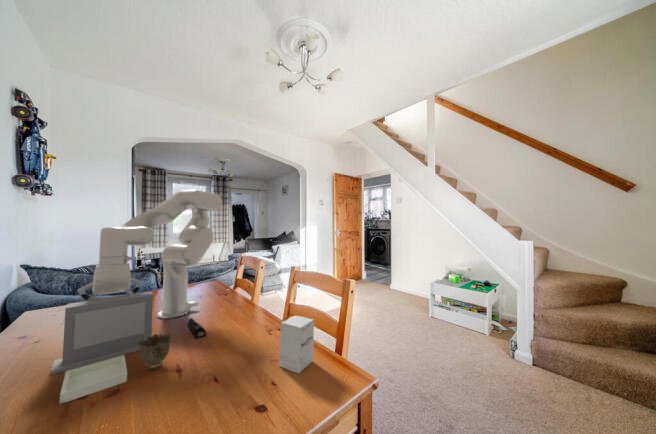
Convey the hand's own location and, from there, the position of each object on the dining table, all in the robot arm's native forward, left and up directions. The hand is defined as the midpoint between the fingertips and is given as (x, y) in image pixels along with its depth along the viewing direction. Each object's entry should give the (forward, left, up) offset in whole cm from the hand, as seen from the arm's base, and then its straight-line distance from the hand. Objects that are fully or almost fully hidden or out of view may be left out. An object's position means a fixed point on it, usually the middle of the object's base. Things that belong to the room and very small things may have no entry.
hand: (111, 308), depth 85 cm
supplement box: (-40, +58, -11) cm, 71 cm away
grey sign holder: (0, +14, -10) cm, 17 cm away
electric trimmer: (-24, +14, -11) cm, 30 cm away
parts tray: (+3, +29, -10) cm, 31 cm away
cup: (-9, +32, -10) cm, 35 cm away
